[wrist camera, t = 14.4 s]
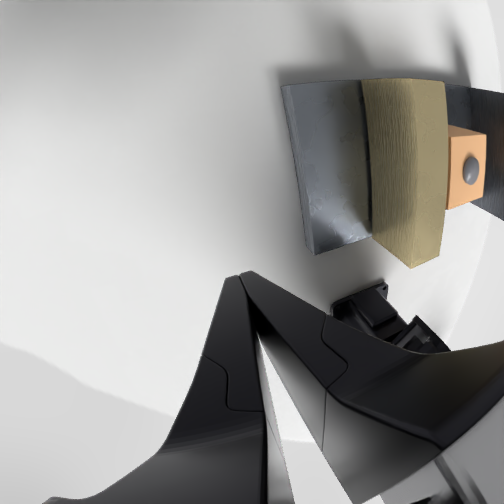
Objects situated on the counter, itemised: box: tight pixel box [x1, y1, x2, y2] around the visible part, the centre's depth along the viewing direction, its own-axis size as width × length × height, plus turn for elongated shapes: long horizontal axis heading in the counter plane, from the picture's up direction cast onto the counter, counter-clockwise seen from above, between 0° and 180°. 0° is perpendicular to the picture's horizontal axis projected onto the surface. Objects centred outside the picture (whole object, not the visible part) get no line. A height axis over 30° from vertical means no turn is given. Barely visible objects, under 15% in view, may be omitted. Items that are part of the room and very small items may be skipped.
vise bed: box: [281, 80, 504, 255], centre depth 17 cm, size 12×22×7 cm, turn 102°
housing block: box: [445, 125, 486, 210], centre depth 16 cm, size 5×5×5 cm
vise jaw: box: [361, 78, 448, 269], centre depth 16 cm, size 12×3×5 cm, turn 12°
